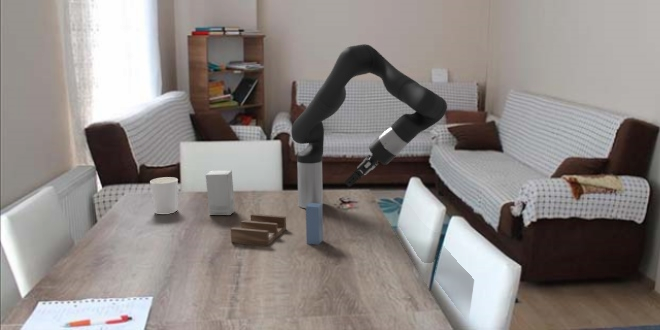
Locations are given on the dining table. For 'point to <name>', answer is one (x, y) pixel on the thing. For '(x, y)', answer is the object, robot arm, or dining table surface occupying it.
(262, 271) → the dining table surface
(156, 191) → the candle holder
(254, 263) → the dining table surface
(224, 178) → the skincare box
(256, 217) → the rack
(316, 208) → the block
